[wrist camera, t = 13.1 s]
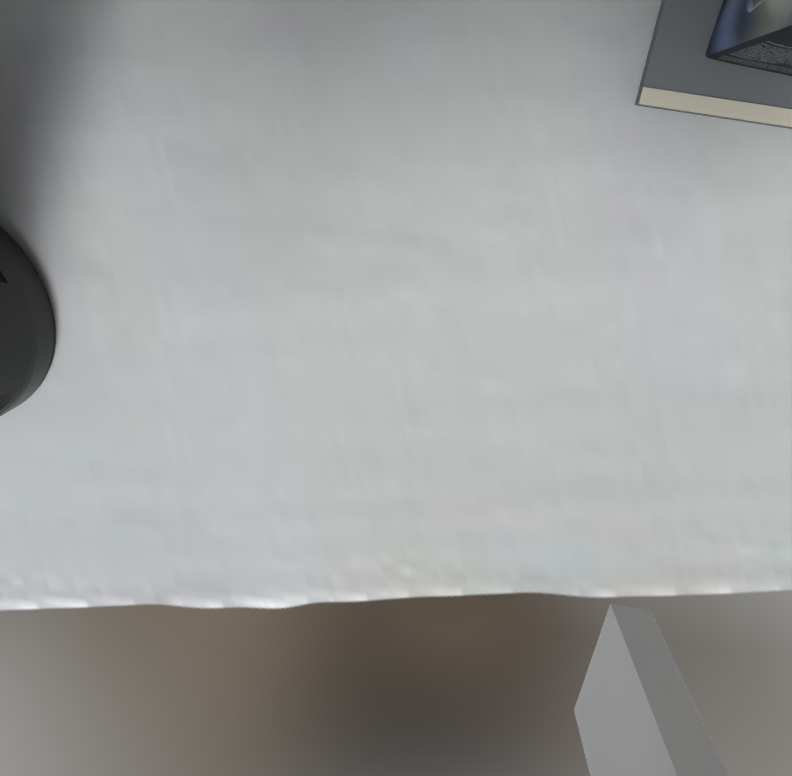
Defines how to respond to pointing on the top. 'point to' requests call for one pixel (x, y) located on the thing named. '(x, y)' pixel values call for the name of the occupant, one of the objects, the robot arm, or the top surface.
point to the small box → (754, 35)
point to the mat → (707, 72)
